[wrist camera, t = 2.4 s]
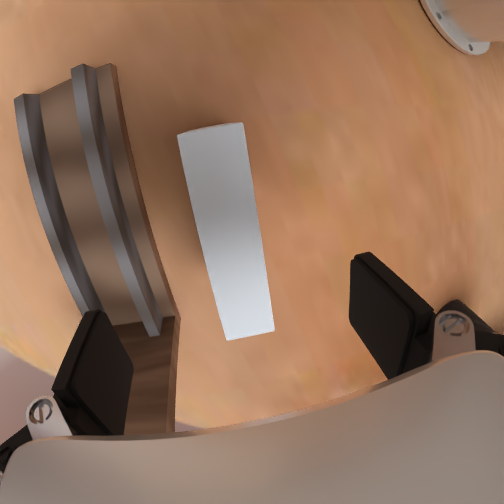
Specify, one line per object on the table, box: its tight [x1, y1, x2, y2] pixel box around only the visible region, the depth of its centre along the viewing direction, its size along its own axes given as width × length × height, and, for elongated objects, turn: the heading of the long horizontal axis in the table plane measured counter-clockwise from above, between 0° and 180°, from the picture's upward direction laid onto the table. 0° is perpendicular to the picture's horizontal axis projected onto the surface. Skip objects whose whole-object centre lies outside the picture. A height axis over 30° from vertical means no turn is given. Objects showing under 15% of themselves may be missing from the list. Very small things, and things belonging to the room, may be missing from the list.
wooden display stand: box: [14, 63, 181, 435], centre depth 15 cm, size 24×9×16 cm, turn 9°
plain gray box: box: [177, 122, 275, 341], centre depth 19 cm, size 12×3×10 cm, turn 9°
